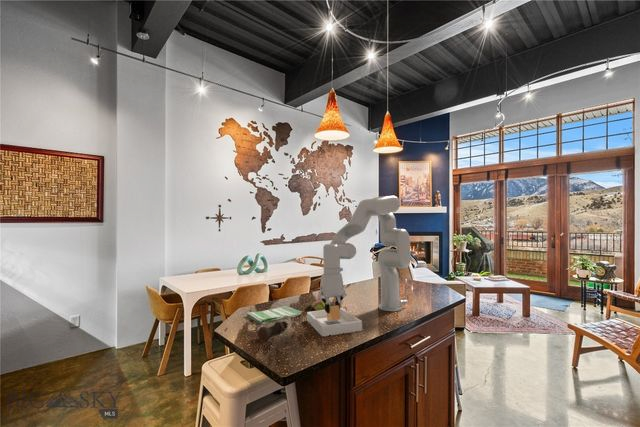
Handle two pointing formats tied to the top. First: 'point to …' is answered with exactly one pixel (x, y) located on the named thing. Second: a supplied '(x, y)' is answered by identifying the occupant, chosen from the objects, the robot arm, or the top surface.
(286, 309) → the dish towel
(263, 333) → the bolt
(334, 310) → the tan rectangular block
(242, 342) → the top surface
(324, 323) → the tray
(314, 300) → the green elongated lump
